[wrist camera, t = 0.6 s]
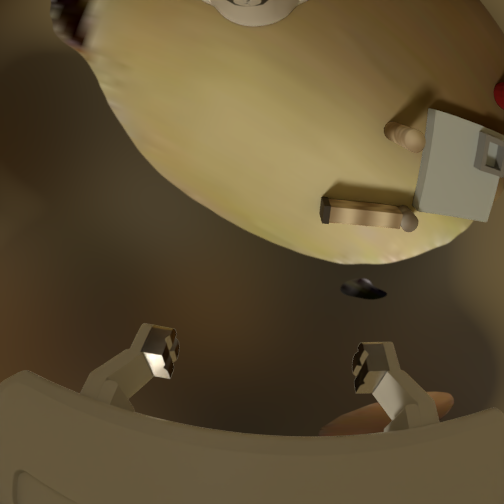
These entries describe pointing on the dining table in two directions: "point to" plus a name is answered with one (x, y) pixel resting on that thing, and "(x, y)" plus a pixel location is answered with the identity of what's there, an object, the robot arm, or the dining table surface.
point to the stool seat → (458, 168)
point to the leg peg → (405, 136)
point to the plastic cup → (499, 94)
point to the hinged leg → (367, 214)
